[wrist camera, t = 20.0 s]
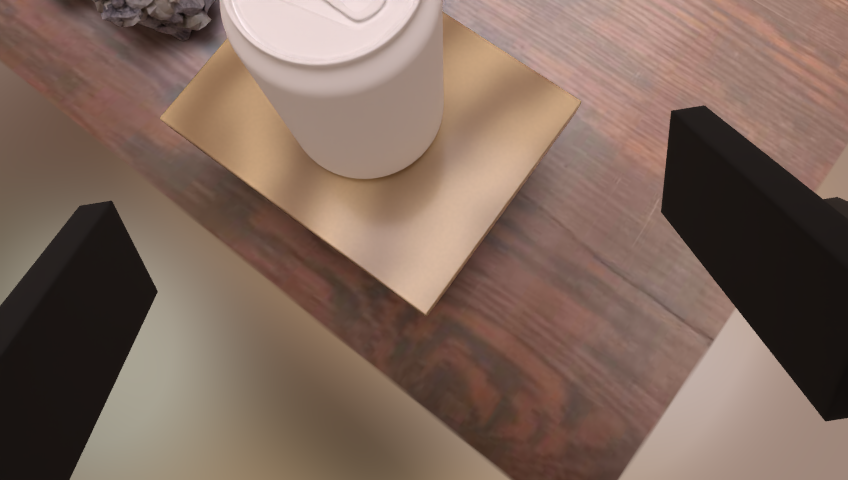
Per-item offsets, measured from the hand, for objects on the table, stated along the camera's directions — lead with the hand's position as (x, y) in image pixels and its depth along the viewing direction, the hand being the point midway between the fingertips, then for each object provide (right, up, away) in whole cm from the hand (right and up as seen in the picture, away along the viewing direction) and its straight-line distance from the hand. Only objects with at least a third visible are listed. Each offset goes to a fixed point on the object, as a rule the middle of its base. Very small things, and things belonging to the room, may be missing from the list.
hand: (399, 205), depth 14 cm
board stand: (-2, +4, +27) cm, 27 cm away
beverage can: (-2, +6, +18) cm, 19 cm away
